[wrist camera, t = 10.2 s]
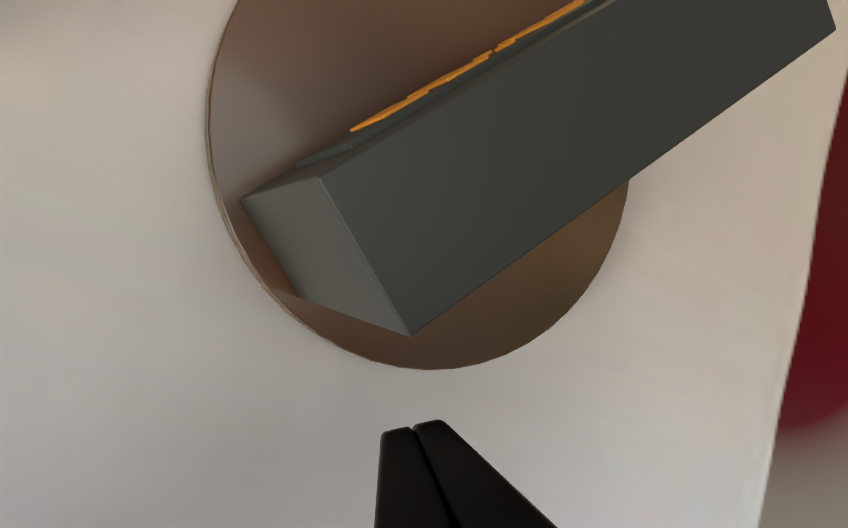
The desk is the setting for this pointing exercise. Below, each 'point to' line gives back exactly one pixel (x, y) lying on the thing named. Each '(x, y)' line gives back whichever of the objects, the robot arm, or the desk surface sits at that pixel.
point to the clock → (514, 148)
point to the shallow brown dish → (353, 104)
